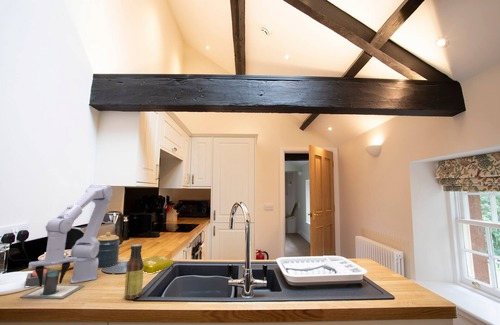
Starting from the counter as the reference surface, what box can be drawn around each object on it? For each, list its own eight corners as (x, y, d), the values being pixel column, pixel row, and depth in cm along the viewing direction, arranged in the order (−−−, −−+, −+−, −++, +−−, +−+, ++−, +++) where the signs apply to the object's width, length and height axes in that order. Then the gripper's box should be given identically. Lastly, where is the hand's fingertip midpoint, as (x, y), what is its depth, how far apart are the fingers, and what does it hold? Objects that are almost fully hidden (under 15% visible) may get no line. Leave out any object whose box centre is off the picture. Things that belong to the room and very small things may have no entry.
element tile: (174, 268, 127) (174, 259, 127) (149, 275, 114) (150, 265, 115) (157, 263, 135) (158, 254, 136) (133, 269, 123) (134, 260, 123)
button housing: (50, 278, 106) (51, 270, 106) (50, 283, 100) (51, 275, 100) (26, 281, 101) (27, 273, 101) (24, 287, 95) (26, 279, 95)
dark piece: (55, 290, 93) (59, 269, 94) (56, 293, 90) (59, 272, 91) (42, 292, 90) (46, 270, 91) (42, 296, 87) (46, 273, 88)
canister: (113, 267, 123) (116, 233, 125) (86, 268, 120) (90, 233, 122) (121, 260, 135) (124, 230, 138) (96, 261, 133) (100, 229, 135)
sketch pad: (19, 297, 86) (20, 296, 86) (47, 285, 98) (47, 283, 98) (62, 299, 86) (62, 297, 86) (84, 286, 98) (84, 285, 98)
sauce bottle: (144, 295, 92) (149, 244, 95) (132, 301, 87) (137, 247, 89) (132, 292, 95) (137, 242, 97) (119, 298, 89) (125, 245, 91)
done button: (46, 275, 104) (47, 268, 104) (46, 278, 100) (47, 271, 101) (31, 277, 101) (33, 270, 101) (31, 280, 97) (32, 273, 98)
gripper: (30, 253, 84) (24, 292, 83) (78, 248, 94) (74, 283, 92) (31, 249, 90) (25, 285, 88) (77, 244, 99) (73, 277, 97)
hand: (50, 284), depth 90 cm, fingers open, 5 cm apart
